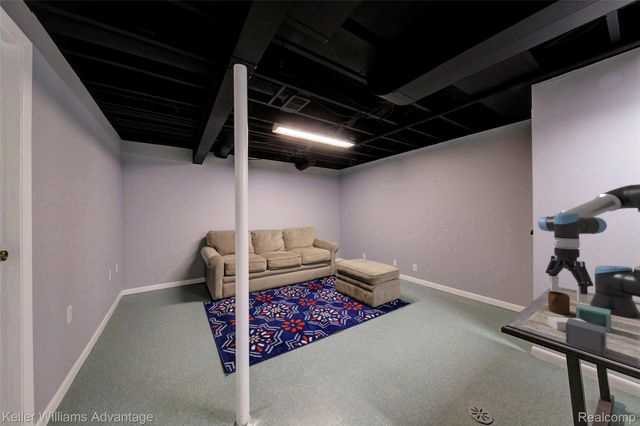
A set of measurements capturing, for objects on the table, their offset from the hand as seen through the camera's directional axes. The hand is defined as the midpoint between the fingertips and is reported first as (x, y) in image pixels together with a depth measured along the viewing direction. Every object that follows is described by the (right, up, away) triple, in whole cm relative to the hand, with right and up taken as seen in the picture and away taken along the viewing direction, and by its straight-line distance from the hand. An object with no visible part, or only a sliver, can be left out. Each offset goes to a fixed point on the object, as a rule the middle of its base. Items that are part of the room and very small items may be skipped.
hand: (567, 295), depth 98 cm
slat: (0, -15, 0) cm, 15 cm away
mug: (+12, -15, +15) cm, 24 cm away
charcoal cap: (-7, -15, -13) cm, 20 cm away
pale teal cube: (+14, -14, +2) cm, 20 cm away
